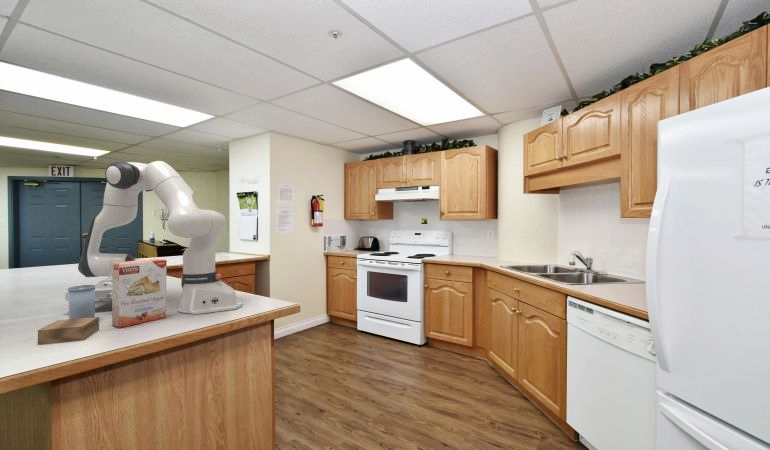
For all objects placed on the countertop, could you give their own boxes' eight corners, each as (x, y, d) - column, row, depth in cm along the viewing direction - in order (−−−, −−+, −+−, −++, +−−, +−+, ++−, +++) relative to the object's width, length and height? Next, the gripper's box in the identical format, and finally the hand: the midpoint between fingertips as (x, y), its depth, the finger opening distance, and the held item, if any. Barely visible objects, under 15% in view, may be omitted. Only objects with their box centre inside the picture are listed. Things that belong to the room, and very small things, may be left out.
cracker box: (119, 328, 104) (118, 263, 104) (111, 325, 107) (111, 262, 107) (167, 318, 116) (167, 259, 116) (159, 315, 119) (158, 258, 119)
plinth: (99, 329, 103) (99, 316, 103) (83, 340, 94) (83, 326, 94) (58, 333, 100) (57, 320, 100) (37, 344, 90) (37, 330, 90)
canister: (99, 318, 115) (98, 284, 115) (90, 324, 108) (89, 288, 108) (74, 320, 112) (74, 285, 112) (63, 326, 106) (63, 289, 106)
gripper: (75, 283, 126) (55, 290, 114) (139, 280, 134) (126, 286, 121) (75, 299, 127) (55, 308, 114) (139, 295, 134) (127, 303, 121)
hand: (92, 297), depth 117 cm, fingers open, 8 cm apart
